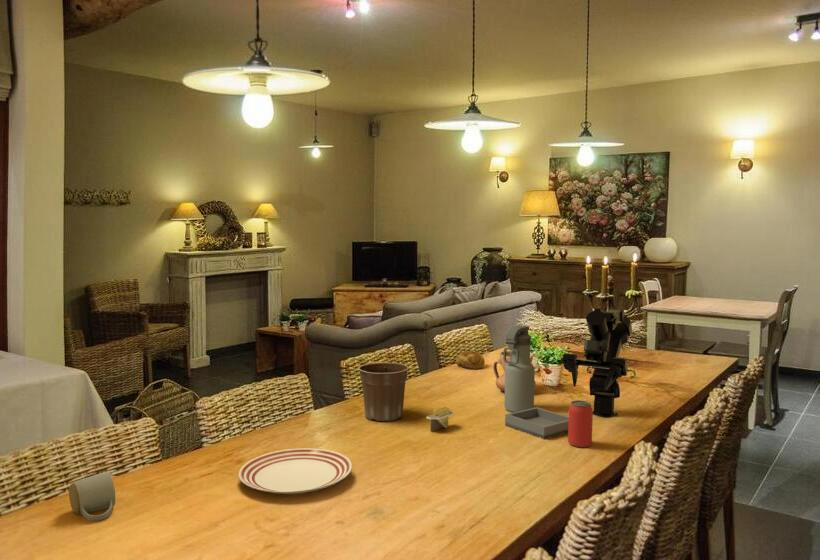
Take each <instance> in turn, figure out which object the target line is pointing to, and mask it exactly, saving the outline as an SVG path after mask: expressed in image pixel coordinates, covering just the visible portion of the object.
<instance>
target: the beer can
mask: <svg viewBox="0 0 820 560" xmlns="http://www.w3.org/2000/svg"><path fill="white" fill-rule="evenodd" d="M592 407H593V406H592V403H591V402H589V401H586V400H572V401H571V402H570V406H569V408H568V417H569V422H568V433H567V443H568V444H569V445H570V446H573V447H576V448H588V447H590V446H592V443H593V417H594V416H593V415H594V414H593V411H594V409H593V408H592Z"/></svg>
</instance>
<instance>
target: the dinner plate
mask: <svg viewBox="0 0 820 560" xmlns="http://www.w3.org/2000/svg"><path fill="white" fill-rule="evenodd" d="M351 461H352V460H350V458H348V457H347V456H346V455H345V454H343V453H339V452H336V451H332V450H329V449H323V448H309V447H308V448H307V447H306V448H305V447H304V448H302V447H301V448H289V449H288V448H287V449H282V450H276V451H271V452H268V453H265V454H262V455H258V456H256V457H255V458H252V459H251V460H248V461H247V462H246V463H245V464H243V465H242V466H241V467H240V469H239V471H238V479H239V480H240V482H241V483H242V484H243V485H245V486H247V487H249V488H251V489H253V490H257V491H261V492H266V493H272V494H281V495H283V494H284V495H285V494H286V495H297V494H298V495H299V494H304V493H311V492H315V491H319V490H323V489H326V488H329V487H331V486H334V485H335V484H338V483H339V482H341V481H343V480H344V479H345V478H347V477H348V476H349V475H350V473H351V472H352V469H353V464H352V462H351Z"/></svg>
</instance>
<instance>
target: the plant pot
mask: <svg viewBox="0 0 820 560" xmlns="http://www.w3.org/2000/svg"><path fill="white" fill-rule="evenodd" d="M409 369H410V368H409V366H408V365H406V364H403V363H397V362H373V363H372V362H371V363H367V364H366V363H365V364H362V365H360V366H358V368H357V370H358V371H359V376H360V382H361V386H362V396H363V405H364V415H365V416H364V417H365V418H366V419H368V420H370V421H372V420H375V421H376V422H391V421H396V420H398V419H399V418H400V419H401V418H403V415H404V403H405V392H406V391H405V390H406V381H407V379H408V377H407V376H408V371H409Z"/></svg>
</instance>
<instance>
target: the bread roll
mask: <svg viewBox="0 0 820 560" xmlns="http://www.w3.org/2000/svg"><path fill="white" fill-rule="evenodd" d="M455 362H456V365H457V366H458V367H460V366H461V368H465V369H467V368H468V369H467V370H480V369H482V368H483V367H484V366H485V358H484V356H483V355H482V354H481V353H479V352H477V351H474V350H473V351H468V350H464V351H462V352H460V354H459V356H458V357H457V358H456V359H455Z"/></svg>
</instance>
